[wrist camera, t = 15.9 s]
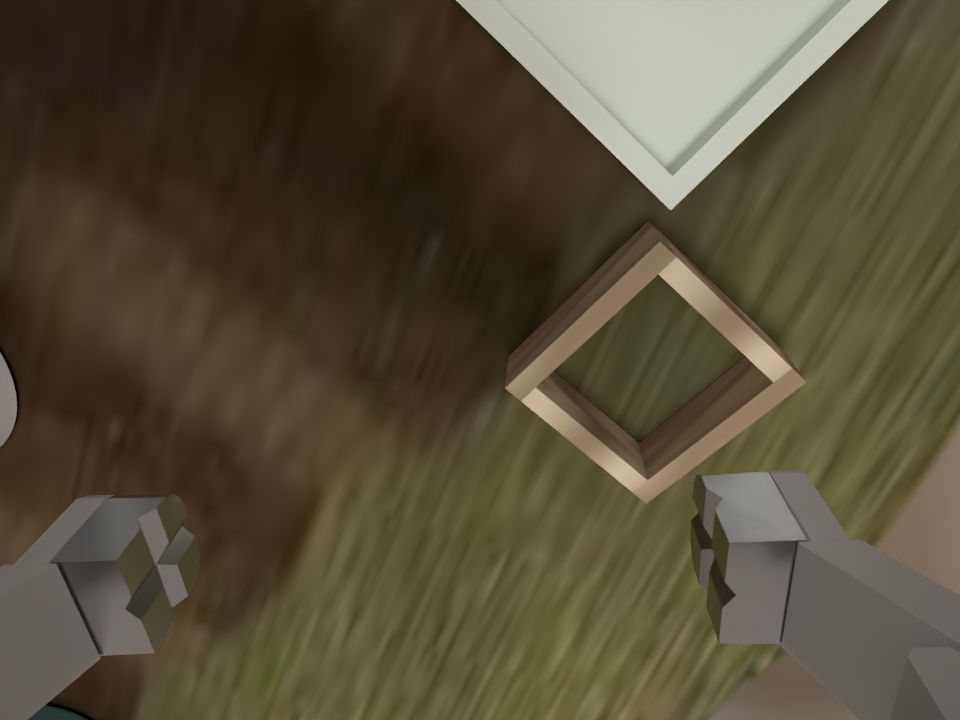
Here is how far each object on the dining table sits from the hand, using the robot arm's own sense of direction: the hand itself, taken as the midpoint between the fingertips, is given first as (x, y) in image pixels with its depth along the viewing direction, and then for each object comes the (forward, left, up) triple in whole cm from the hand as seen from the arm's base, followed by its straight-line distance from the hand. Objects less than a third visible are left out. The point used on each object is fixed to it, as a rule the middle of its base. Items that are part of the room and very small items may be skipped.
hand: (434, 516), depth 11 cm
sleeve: (+13, -3, -29) cm, 31 cm away
